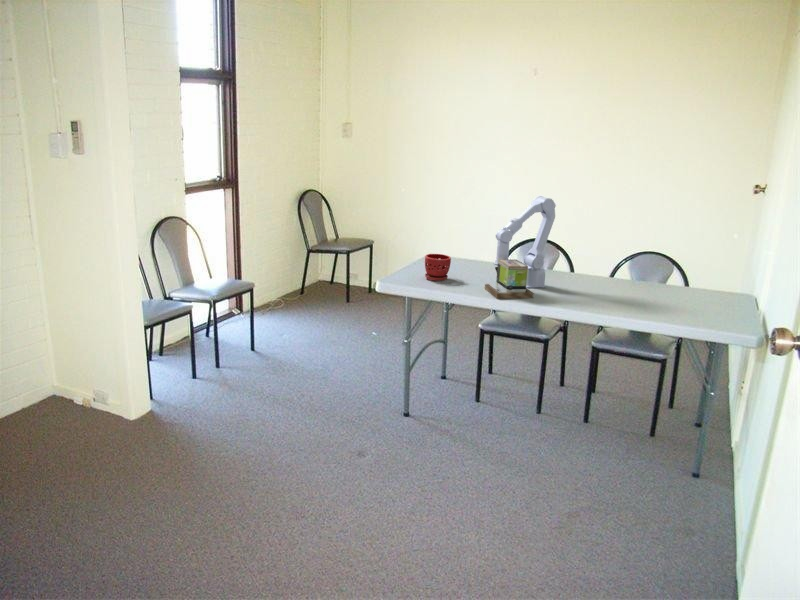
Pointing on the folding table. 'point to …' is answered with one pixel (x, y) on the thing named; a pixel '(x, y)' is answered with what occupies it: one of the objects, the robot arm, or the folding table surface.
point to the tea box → (511, 276)
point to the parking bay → (508, 293)
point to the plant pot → (437, 266)
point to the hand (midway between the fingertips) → (500, 281)
